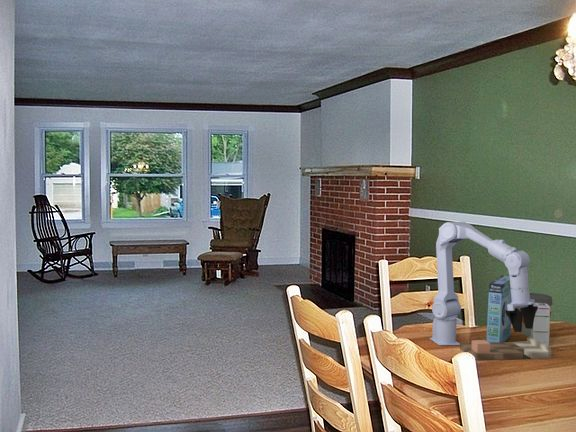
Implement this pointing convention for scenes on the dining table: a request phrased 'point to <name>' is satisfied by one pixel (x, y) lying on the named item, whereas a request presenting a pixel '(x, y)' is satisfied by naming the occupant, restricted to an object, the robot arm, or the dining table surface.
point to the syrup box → (541, 324)
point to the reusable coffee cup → (538, 299)
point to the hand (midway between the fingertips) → (523, 330)
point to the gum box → (498, 310)
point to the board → (511, 350)
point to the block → (480, 346)
